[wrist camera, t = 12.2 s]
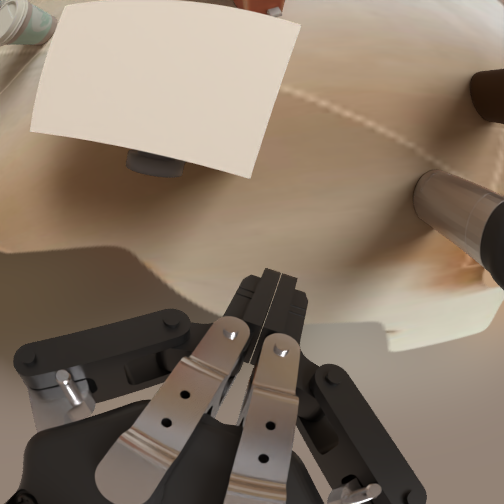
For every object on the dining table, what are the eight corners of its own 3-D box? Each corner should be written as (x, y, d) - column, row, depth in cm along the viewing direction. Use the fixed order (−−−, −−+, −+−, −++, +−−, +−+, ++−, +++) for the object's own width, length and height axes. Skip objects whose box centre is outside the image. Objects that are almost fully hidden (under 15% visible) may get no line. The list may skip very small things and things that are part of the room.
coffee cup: (60, 41, 28) (15, 31, 17) (27, 58, 28) (-18, 54, 17) (66, 3, 25) (25, -14, 14) (32, 20, 25) (-9, 11, 14)
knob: (208, 97, 28) (197, 90, 22) (188, 170, 32) (173, 181, 26) (157, 87, 28) (135, 80, 22) (139, 159, 31) (115, 167, 25)
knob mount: (279, 73, 33) (301, 25, 14) (253, 153, 37) (249, 178, 19) (143, 47, 30) (65, 5, 12) (121, 122, 35) (29, 131, 17)
